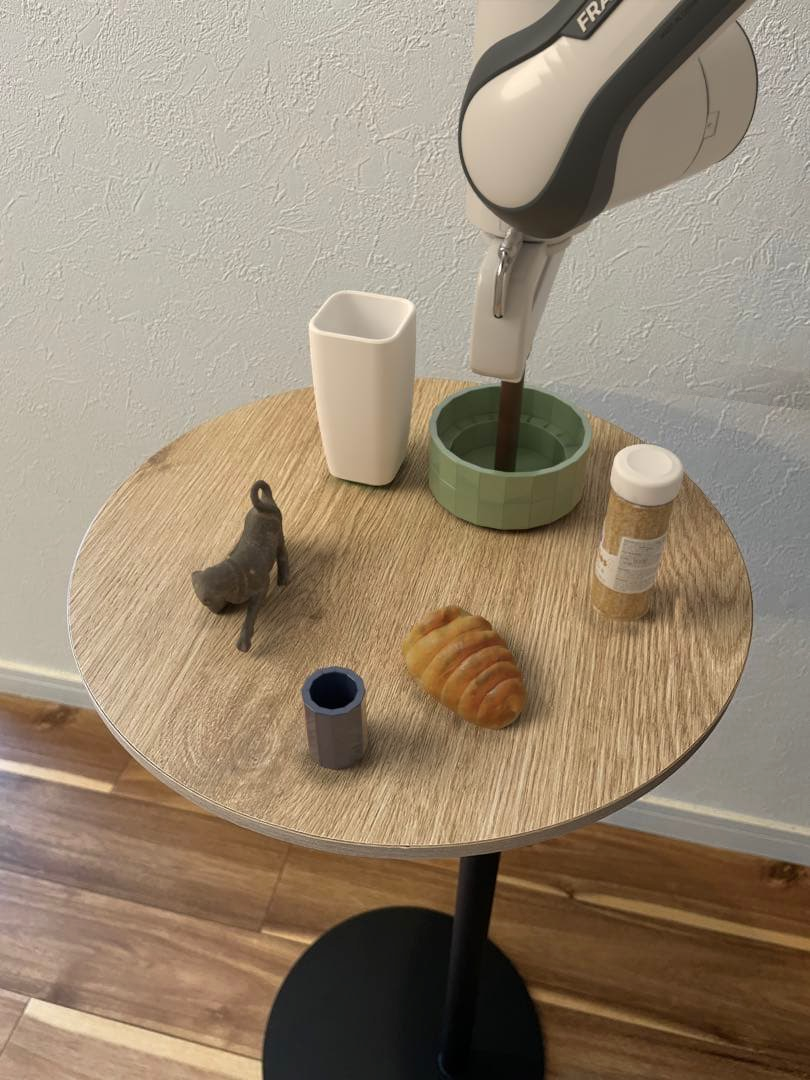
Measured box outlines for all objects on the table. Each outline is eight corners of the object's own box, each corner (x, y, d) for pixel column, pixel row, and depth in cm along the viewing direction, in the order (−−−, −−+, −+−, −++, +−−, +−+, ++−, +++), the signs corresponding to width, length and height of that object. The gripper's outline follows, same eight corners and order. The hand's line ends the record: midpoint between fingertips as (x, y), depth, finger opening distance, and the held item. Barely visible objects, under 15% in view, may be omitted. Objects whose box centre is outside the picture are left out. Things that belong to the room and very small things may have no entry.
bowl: (592, 452, 86) (601, 395, 82) (570, 548, 77) (579, 489, 73) (448, 429, 89) (450, 372, 85) (410, 518, 80) (410, 460, 76)
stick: (516, 474, 83) (530, 328, 74) (512, 486, 82) (526, 340, 72) (495, 470, 83) (507, 325, 74) (491, 483, 82) (502, 337, 73)
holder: (374, 733, 63) (372, 673, 59) (356, 780, 61) (353, 721, 57) (319, 720, 64) (314, 660, 60) (299, 767, 61) (292, 707, 57)
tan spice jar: (586, 582, 74) (611, 439, 65) (646, 586, 74) (680, 443, 65) (589, 626, 71) (616, 481, 62) (652, 630, 70) (689, 485, 61)
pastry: (551, 706, 65) (556, 669, 63) (471, 754, 62) (473, 717, 60) (466, 622, 71) (468, 585, 68) (389, 663, 68) (388, 626, 65)
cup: (394, 501, 81) (392, 345, 71) (313, 484, 83) (301, 329, 73) (420, 451, 86) (422, 300, 77) (343, 436, 88) (335, 286, 78)
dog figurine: (238, 542, 77) (227, 468, 72) (307, 553, 76) (300, 479, 71) (176, 651, 69) (159, 575, 64) (253, 666, 68) (241, 590, 63)
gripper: (552, 263, 58) (531, 449, 67) (596, 144, 73) (574, 310, 82) (450, 250, 59) (443, 435, 68) (513, 135, 74) (500, 300, 83)
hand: (515, 366), depth 75 cm, fingers closed on stick, 2 cm apart
